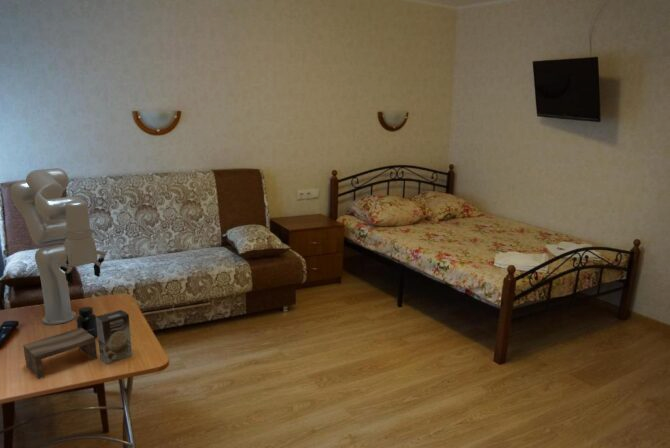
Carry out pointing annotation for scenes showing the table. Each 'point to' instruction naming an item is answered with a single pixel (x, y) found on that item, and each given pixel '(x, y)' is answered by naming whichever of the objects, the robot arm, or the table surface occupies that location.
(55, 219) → the robot arm
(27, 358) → the walnut shelf
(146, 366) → the table surface
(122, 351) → the coffee box
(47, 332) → the table surface
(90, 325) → the supplement bottle
